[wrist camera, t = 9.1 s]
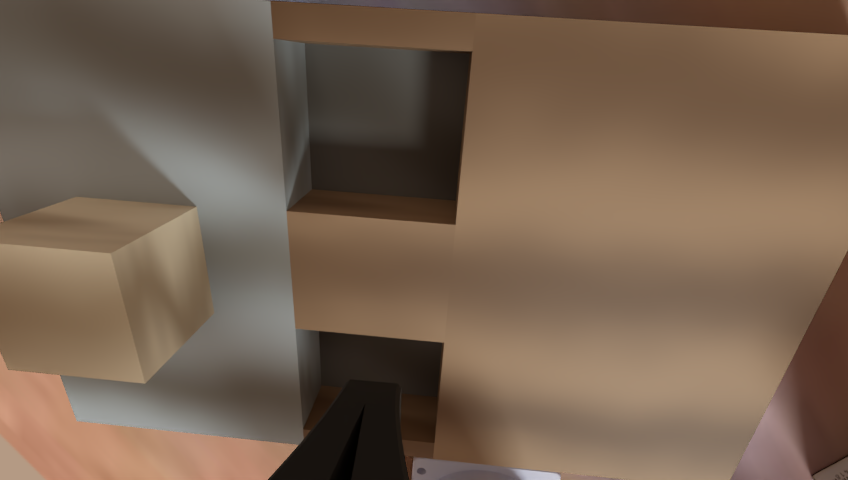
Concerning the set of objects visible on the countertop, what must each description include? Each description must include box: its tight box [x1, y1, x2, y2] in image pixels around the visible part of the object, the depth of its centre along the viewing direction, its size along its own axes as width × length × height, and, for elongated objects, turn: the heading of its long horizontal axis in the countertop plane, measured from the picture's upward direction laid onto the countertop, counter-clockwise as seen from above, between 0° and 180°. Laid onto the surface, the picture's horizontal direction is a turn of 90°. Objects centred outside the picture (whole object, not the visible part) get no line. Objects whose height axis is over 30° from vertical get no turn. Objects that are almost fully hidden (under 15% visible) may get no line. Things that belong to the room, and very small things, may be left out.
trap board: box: [0, 0, 848, 480], centre depth 17 cm, size 18×30×3 cm, turn 87°
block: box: [0, 197, 214, 384], centre depth 14 cm, size 4×4×4 cm
